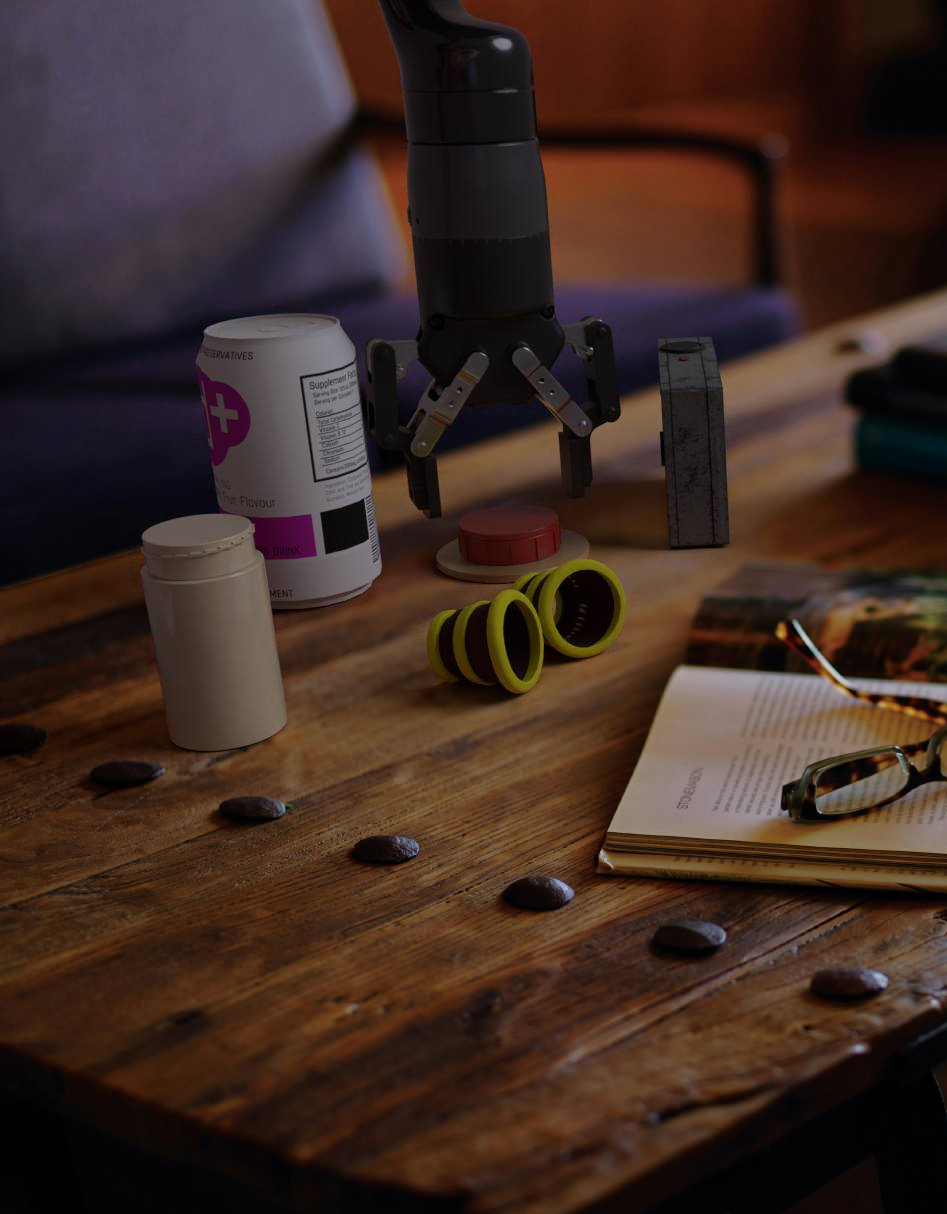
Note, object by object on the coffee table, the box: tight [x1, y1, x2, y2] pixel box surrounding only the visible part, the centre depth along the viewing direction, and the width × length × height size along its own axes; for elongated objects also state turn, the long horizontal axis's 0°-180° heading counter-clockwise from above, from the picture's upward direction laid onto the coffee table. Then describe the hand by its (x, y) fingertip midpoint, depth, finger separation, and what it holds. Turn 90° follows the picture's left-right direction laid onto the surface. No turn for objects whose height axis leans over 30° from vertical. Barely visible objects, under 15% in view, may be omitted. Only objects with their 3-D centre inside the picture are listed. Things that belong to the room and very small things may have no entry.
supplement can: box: [195, 312, 383, 610], centre depth 90 cm, size 8×8×15 cm
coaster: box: [435, 528, 591, 584], centre depth 97 cm, size 9×9×1 cm
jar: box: [140, 513, 289, 752], centre depth 73 cm, size 5×5×10 cm
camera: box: [656, 336, 731, 548], centre depth 103 cm, size 16×4×10 cm, turn 6°
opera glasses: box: [426, 558, 627, 694], centre depth 80 cm, size 10×5×5 cm, turn 148°
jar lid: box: [457, 504, 562, 566], centre depth 96 cm, size 6×6×2 cm
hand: (504, 505), depth 96 cm, fingers open, 8 cm apart
